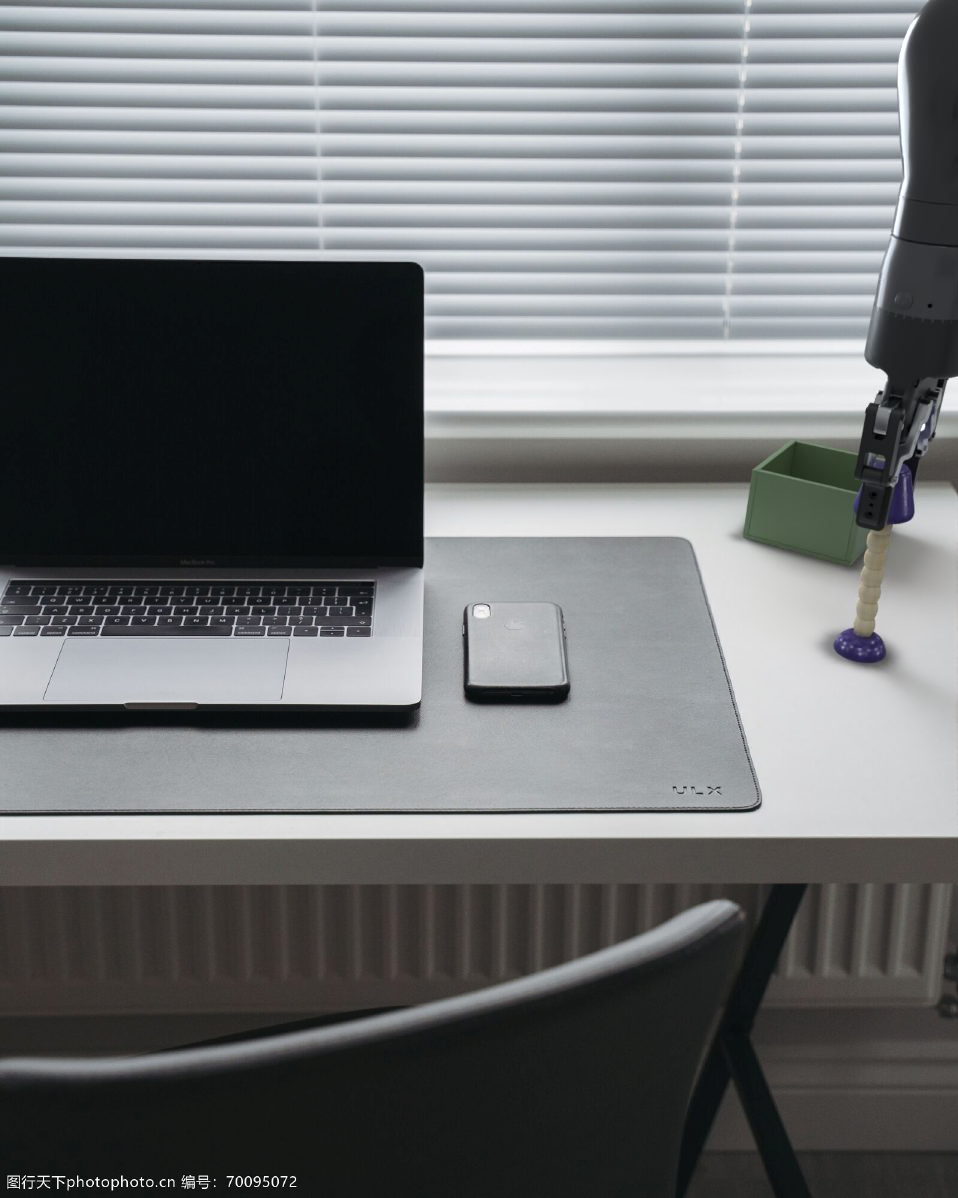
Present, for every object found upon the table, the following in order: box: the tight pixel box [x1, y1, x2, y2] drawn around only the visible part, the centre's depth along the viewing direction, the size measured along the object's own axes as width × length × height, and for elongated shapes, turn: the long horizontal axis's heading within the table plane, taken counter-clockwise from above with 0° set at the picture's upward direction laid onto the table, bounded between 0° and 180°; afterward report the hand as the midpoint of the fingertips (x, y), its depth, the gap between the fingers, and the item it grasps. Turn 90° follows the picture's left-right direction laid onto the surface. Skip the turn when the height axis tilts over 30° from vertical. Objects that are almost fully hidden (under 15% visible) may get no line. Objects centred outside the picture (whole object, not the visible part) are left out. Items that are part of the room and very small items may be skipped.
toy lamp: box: [833, 461, 916, 664], centre depth 90 cm, size 5×5×17 cm
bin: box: [742, 438, 885, 567], centre depth 113 cm, size 11×11×8 cm
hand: (884, 511), depth 88 cm, fingers open, 7 cm apart
